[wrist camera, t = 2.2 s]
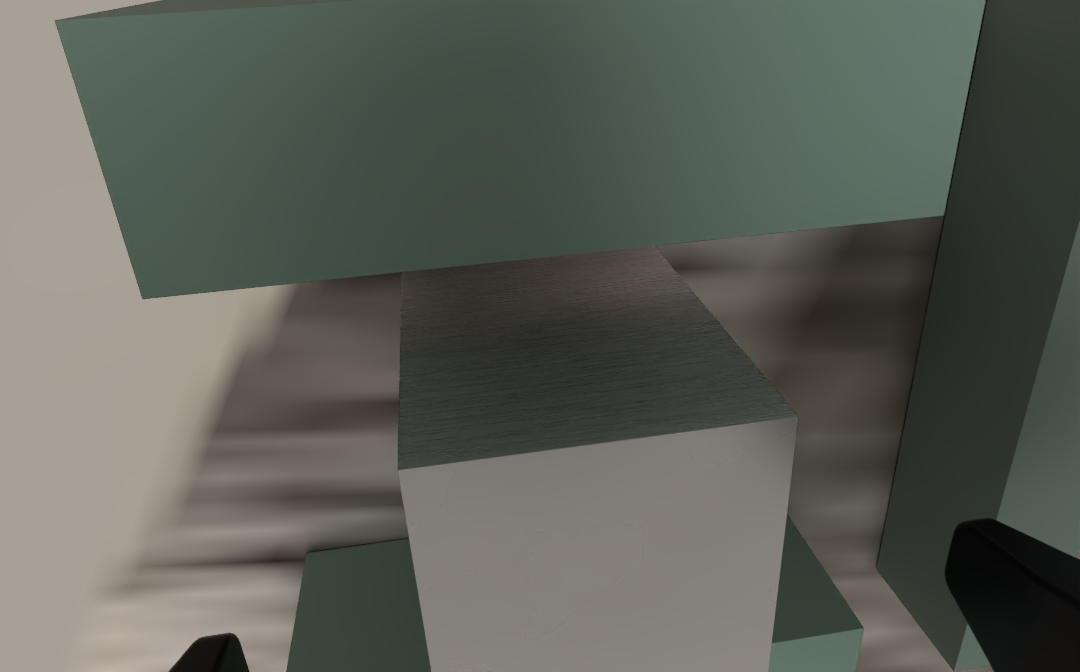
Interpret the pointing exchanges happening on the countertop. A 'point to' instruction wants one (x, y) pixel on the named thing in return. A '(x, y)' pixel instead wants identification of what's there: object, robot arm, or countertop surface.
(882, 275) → the countertop surface
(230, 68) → the vise
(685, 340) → the steel block
